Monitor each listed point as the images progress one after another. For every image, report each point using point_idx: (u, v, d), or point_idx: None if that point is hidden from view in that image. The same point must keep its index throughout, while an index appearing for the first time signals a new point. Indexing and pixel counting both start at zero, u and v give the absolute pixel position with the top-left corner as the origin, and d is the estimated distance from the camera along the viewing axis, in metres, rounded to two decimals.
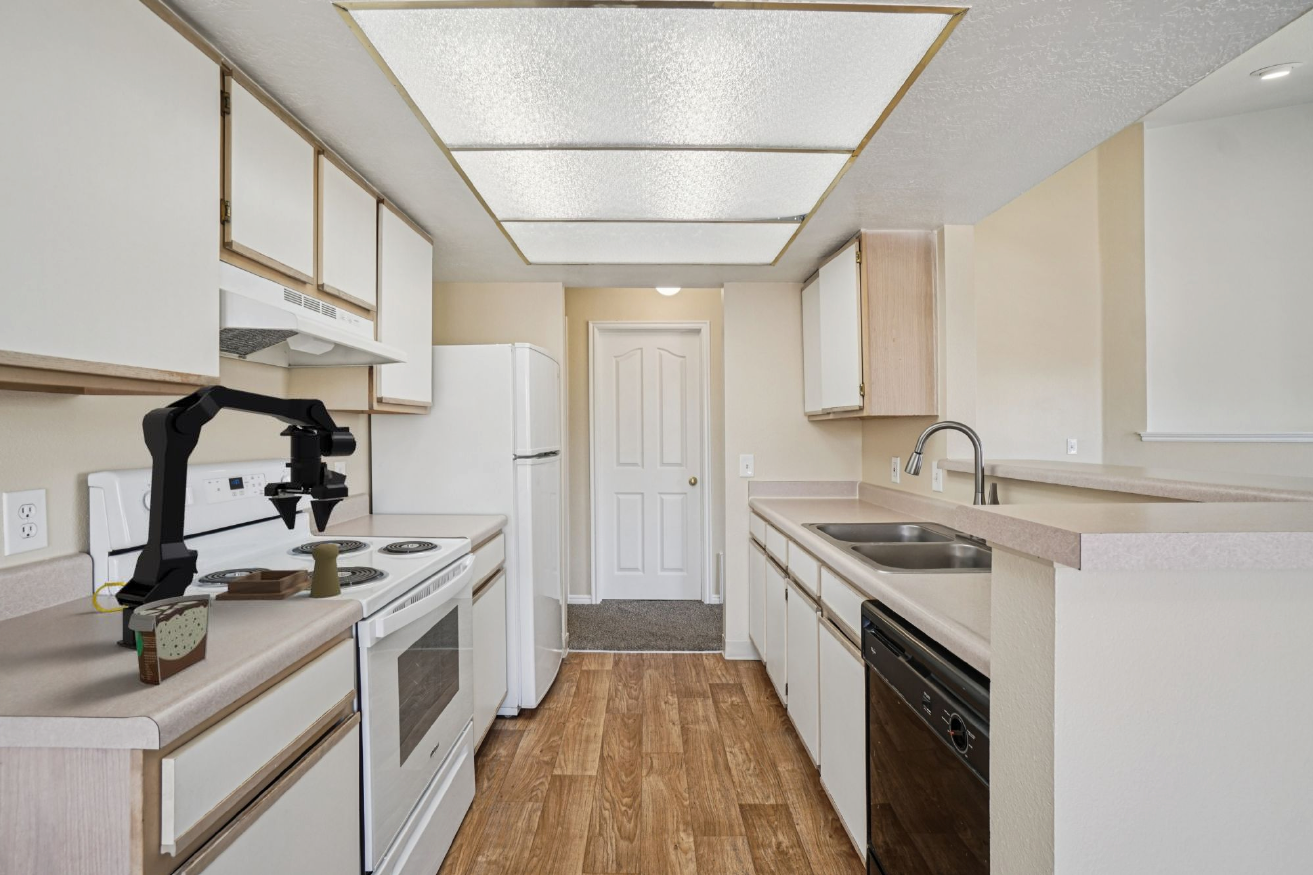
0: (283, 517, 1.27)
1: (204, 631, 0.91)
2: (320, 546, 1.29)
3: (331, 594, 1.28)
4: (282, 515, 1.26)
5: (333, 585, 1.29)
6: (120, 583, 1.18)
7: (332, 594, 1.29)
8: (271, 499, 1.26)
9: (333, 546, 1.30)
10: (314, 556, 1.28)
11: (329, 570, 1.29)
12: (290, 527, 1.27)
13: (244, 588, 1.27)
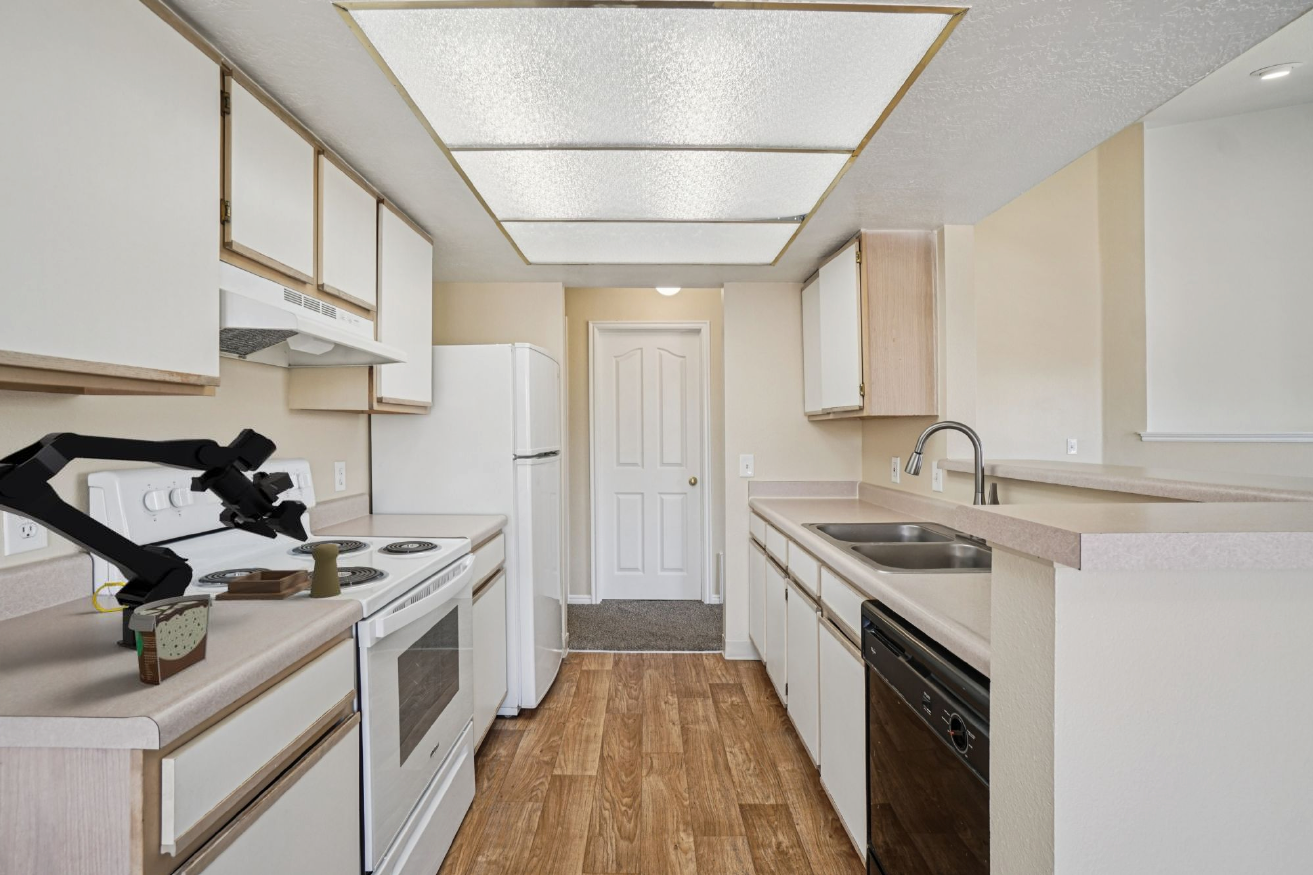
0: (260, 534, 1.22)
1: (204, 631, 0.91)
2: (320, 546, 1.29)
3: (331, 594, 1.28)
4: (257, 534, 1.22)
5: (333, 585, 1.29)
6: (120, 583, 1.18)
7: (332, 594, 1.29)
8: (235, 528, 1.19)
9: (333, 546, 1.30)
10: (314, 556, 1.28)
11: (329, 570, 1.29)
12: (273, 537, 1.24)
13: (244, 588, 1.27)
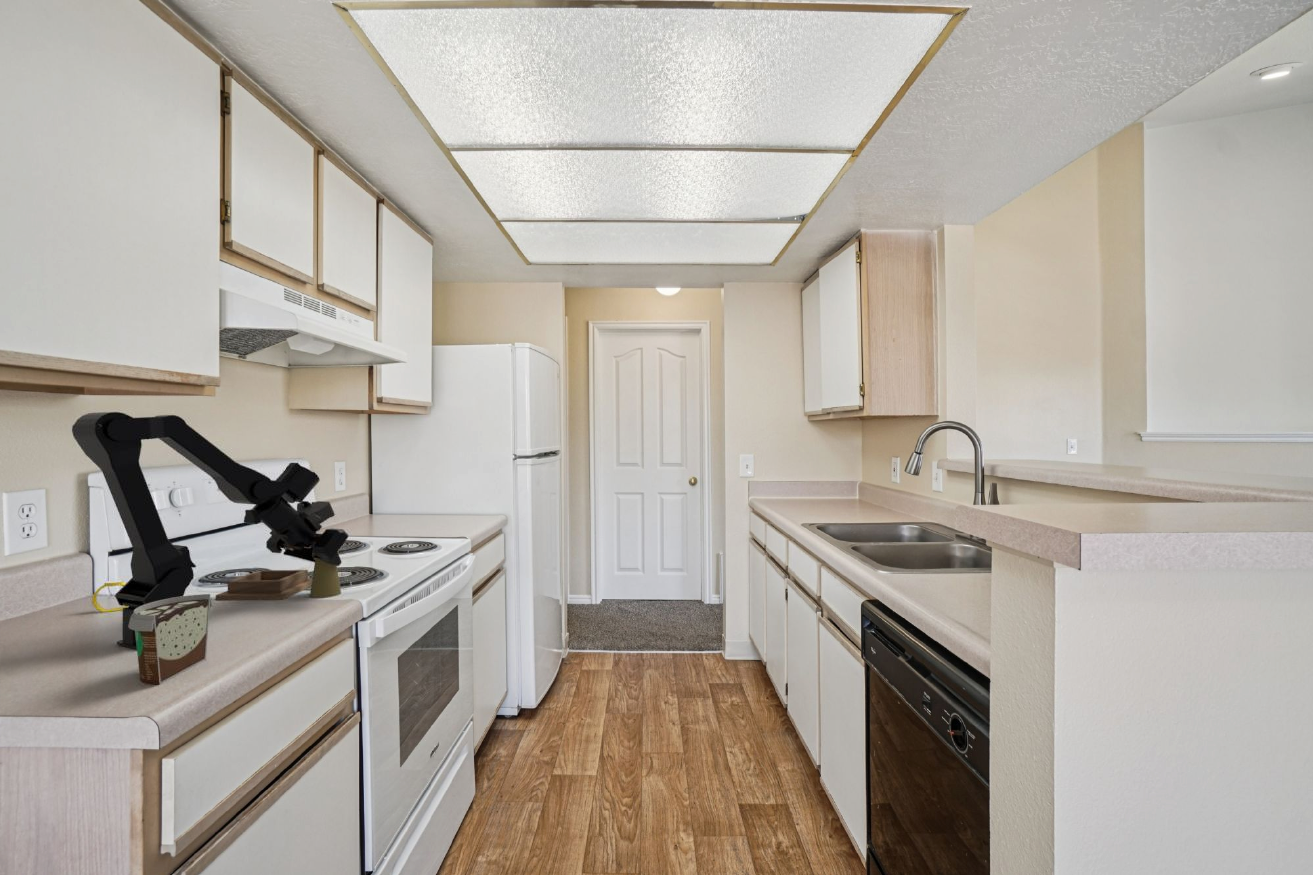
0: (309, 560, 1.30)
1: (204, 631, 0.91)
2: None
3: (331, 594, 1.28)
4: (307, 560, 1.30)
5: (333, 585, 1.29)
6: (120, 583, 1.18)
7: (332, 594, 1.29)
8: None
9: None
10: None
11: (329, 570, 1.29)
12: None
13: (244, 588, 1.27)
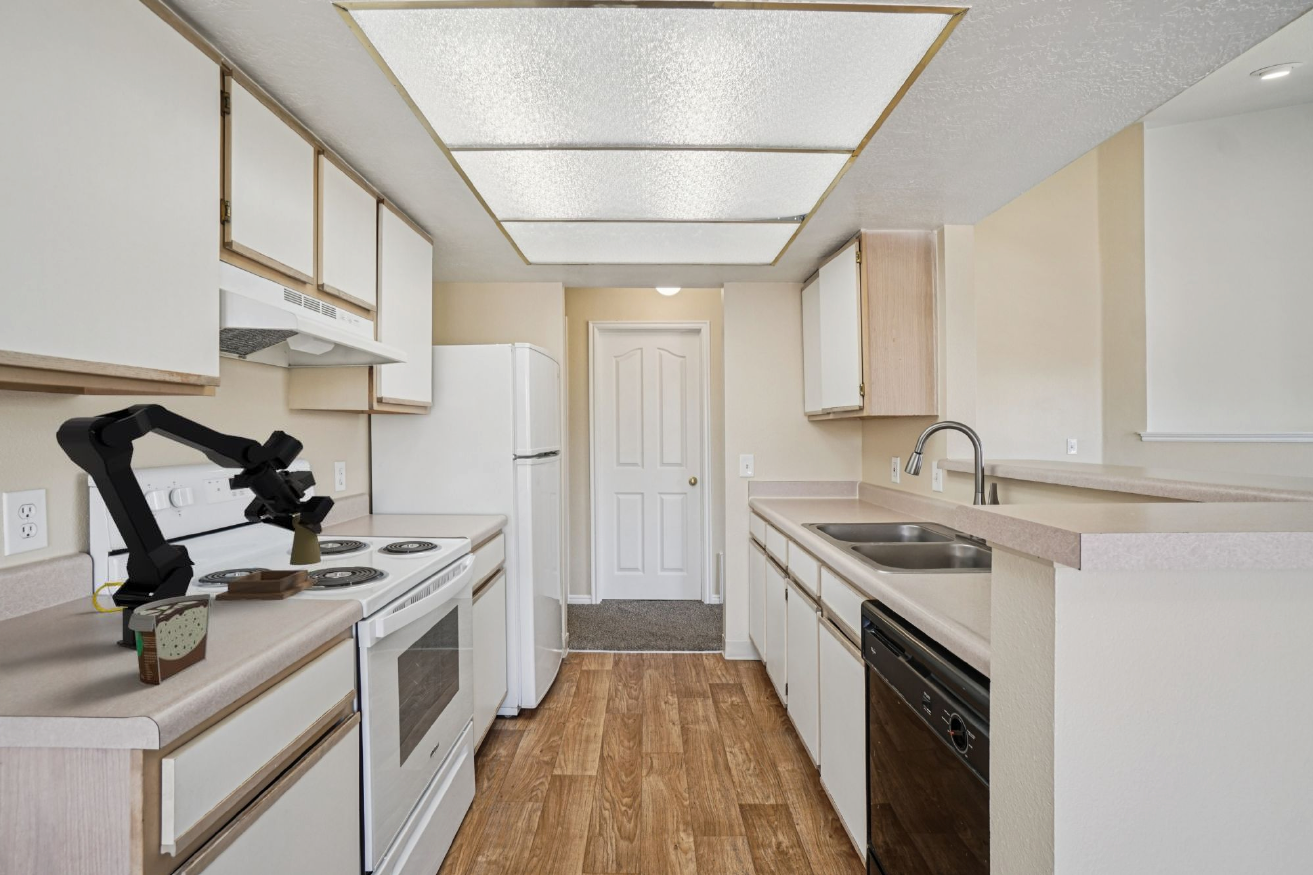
0: (288, 529, 1.31)
1: (204, 631, 0.91)
2: None
3: (313, 561, 1.30)
4: (286, 528, 1.31)
5: (314, 552, 1.31)
6: (120, 583, 1.18)
7: (314, 561, 1.31)
8: (267, 523, 1.28)
9: None
10: (295, 524, 1.30)
11: (311, 538, 1.31)
12: None
13: (244, 588, 1.27)
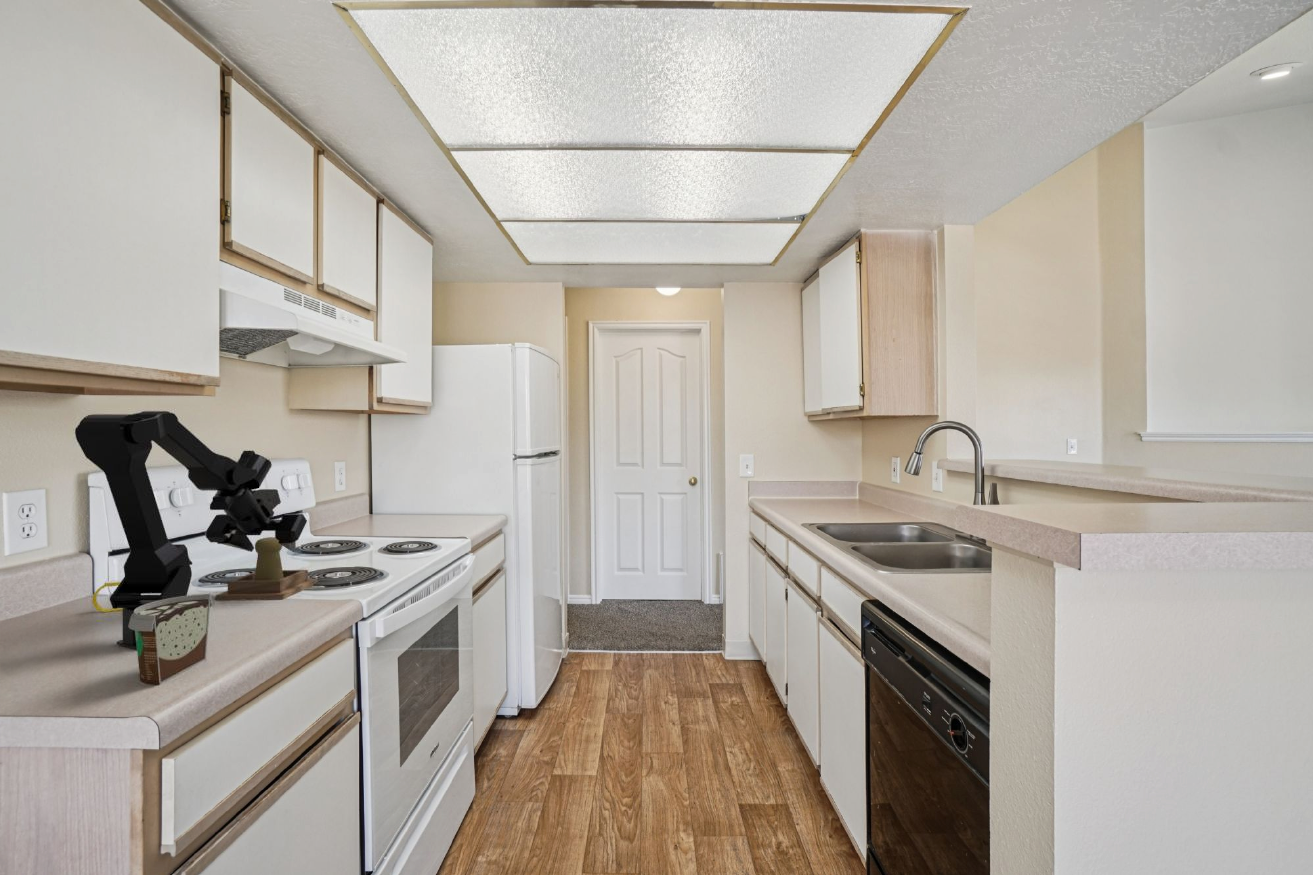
0: (242, 548, 1.31)
1: (204, 631, 0.91)
2: (265, 539, 1.31)
3: None
4: (240, 547, 1.31)
5: (280, 576, 1.33)
6: None
7: None
8: (222, 543, 1.27)
9: None
10: (260, 549, 1.30)
11: (276, 562, 1.32)
12: (251, 549, 1.33)
13: (244, 588, 1.27)
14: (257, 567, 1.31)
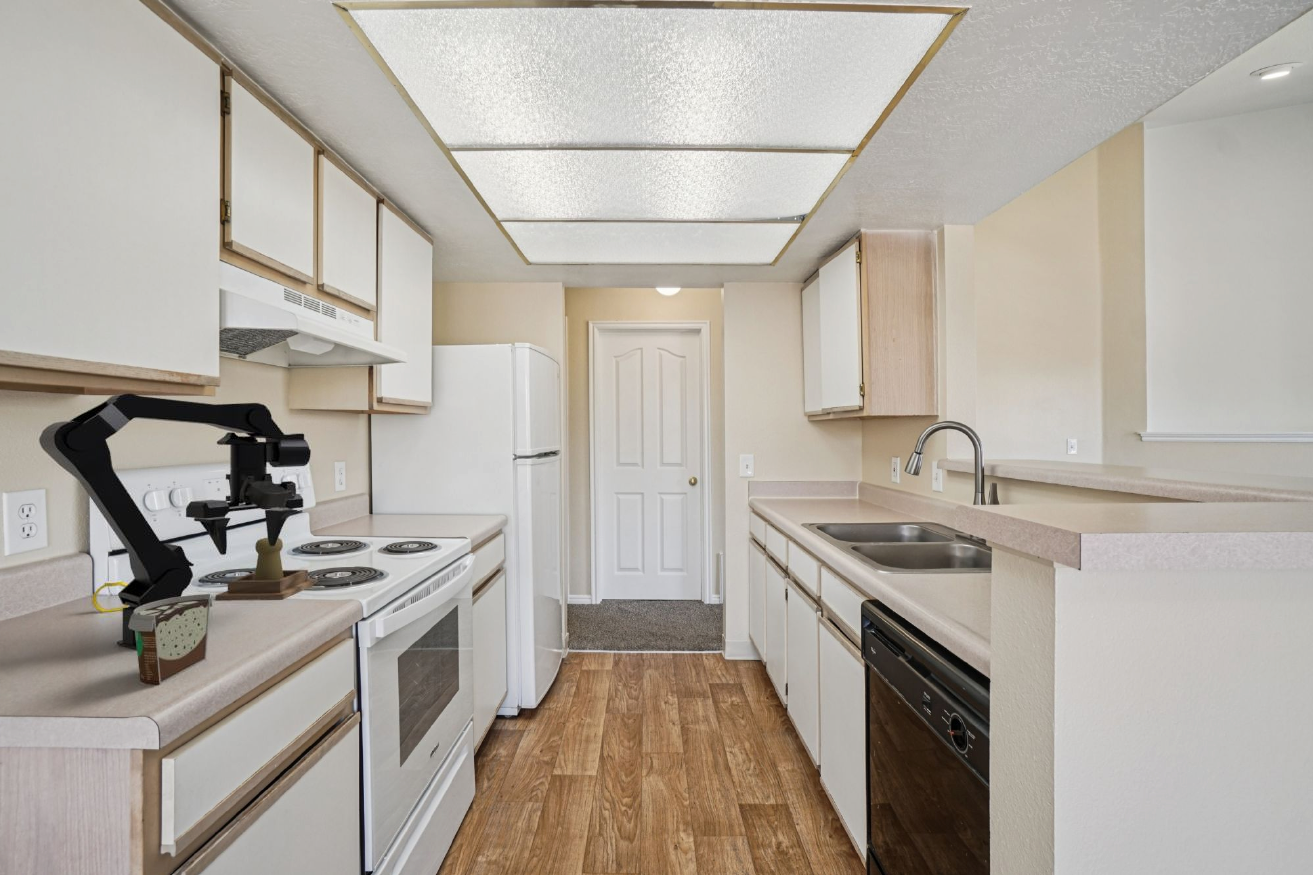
0: None
1: (204, 631, 0.91)
2: (266, 539, 1.31)
3: None
4: None
5: (280, 576, 1.33)
6: (120, 583, 1.18)
7: None
8: None
9: (279, 539, 1.33)
10: (261, 549, 1.30)
11: (277, 562, 1.32)
12: (270, 543, 1.17)
13: (244, 588, 1.27)
14: (257, 567, 1.31)
